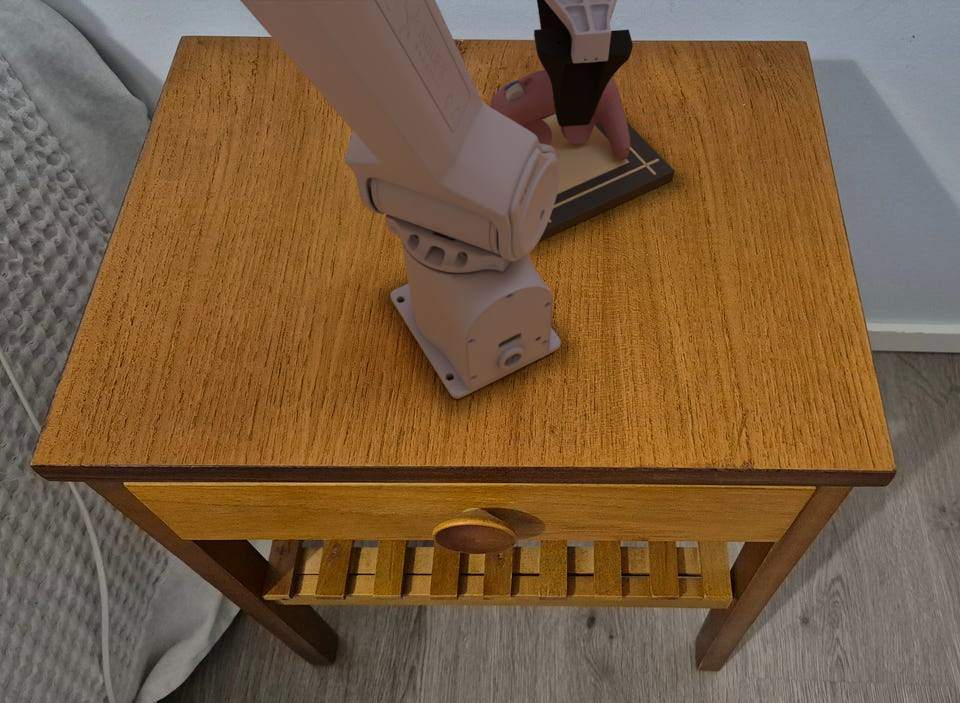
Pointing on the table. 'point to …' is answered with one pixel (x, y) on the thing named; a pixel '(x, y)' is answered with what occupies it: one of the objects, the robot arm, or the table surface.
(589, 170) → the board
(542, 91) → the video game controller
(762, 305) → the table surface
